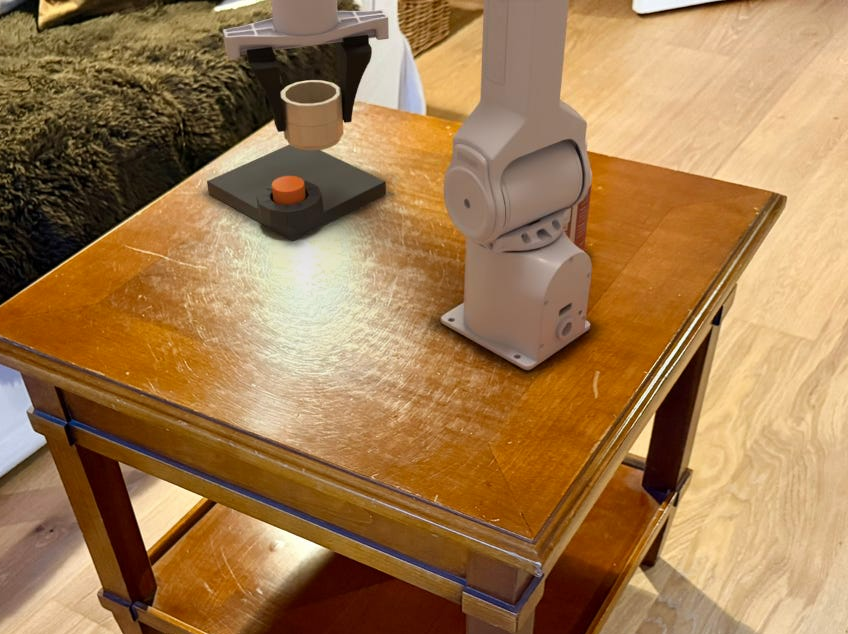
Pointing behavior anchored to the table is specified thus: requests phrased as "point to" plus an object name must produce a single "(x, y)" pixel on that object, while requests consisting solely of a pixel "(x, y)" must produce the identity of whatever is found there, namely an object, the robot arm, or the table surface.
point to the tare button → (288, 190)
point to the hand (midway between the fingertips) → (313, 122)
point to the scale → (324, 189)
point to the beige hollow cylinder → (312, 114)
